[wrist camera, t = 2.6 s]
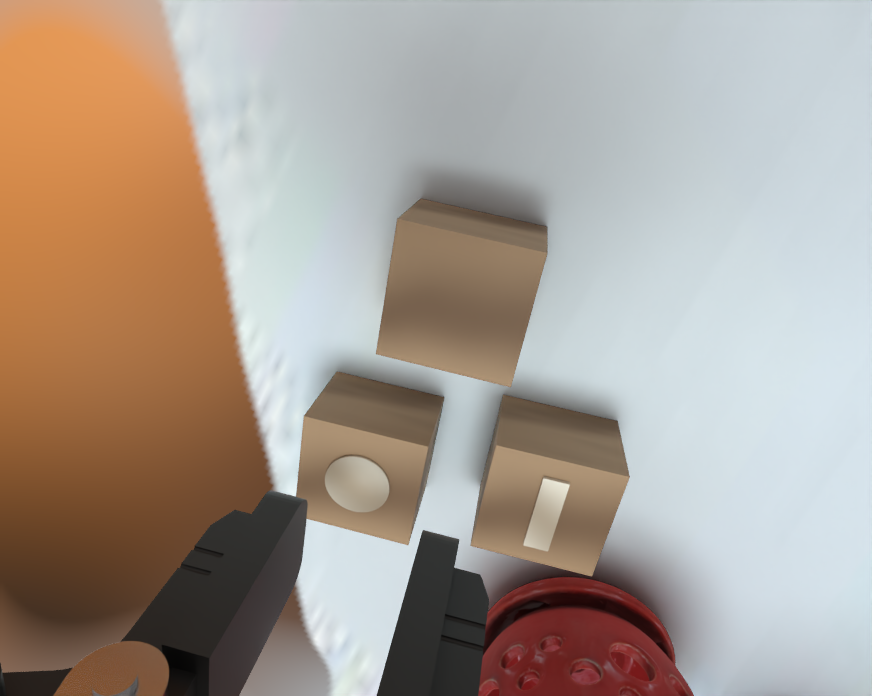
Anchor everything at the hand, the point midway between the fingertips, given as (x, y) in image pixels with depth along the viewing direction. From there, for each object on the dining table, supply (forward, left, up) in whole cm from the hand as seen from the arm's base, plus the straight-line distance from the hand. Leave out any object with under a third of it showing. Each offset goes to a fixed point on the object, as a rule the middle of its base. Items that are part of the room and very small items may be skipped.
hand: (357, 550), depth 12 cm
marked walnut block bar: (+9, +6, -19) cm, 22 cm away
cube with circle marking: (+10, -3, -19) cm, 22 cm away
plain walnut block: (0, 0, -19) cm, 19 cm away
